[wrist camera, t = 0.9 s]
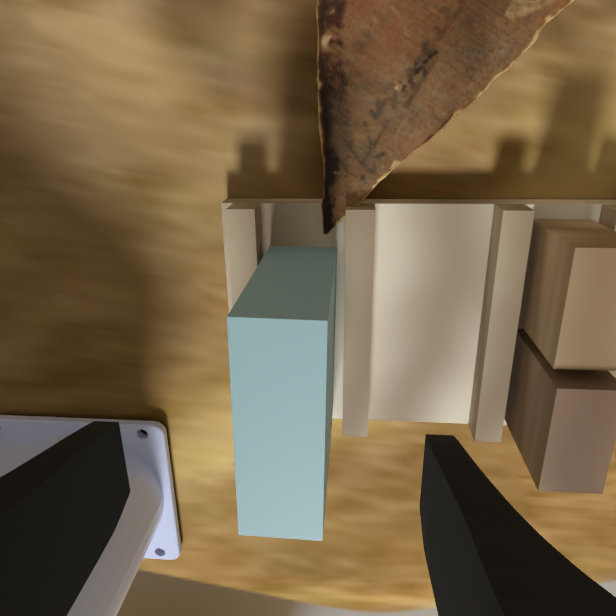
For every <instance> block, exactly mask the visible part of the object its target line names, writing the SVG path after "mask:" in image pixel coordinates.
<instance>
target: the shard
mask: <svg viewBox="0 0 616 616" xmlns="http://www.w3.org/2000/svg"><path fill="white" fill-rule="evenodd" d="M573 1H574V0H317V6H316V14H317V30H318V54H317V78H316V80H317V84H318V94H317V96H318V119H319V134H320V140H321V152H322V156H323V161H324V168H323V171H324V195H323V198H322V202H321V209H322V226H323V234H324V235H327V234H328V233H329V232H330V231H331V230H332V229H333V228H334V227H335V226H336V225H338V224H339V223H340V222H341V221H342V220H343V219H344V217H345V216H346V207H357V206H358V205H359V204H360V203H361V202H363V201H364V199H365V198H366V197H367V196H368V195H369V193H370V192H371V191H372V190H373V189H374V188H375V186H376V185H377V184H378V183H379V182H380V181H381V180H382V179H384V178H385V177H386V176H387V175H388V174H389V173H390V172H391V171H392V170H394V169H395V168H396V167H397V166H398V165H399V164H400V163H401V162H402V161H403V160H405V159H406V158H407V157H408V156H409V155H411V154H412V153H413V152H414V151H415V150H417V149H419V148H421V147H422V146H423V145H424V144H426V143H427V142H429V141H430V140H431V139H432V138H434V137H435V136H436V135H437V134H438V133H439V132H440V131H441V130H442V129H443V128H444V127H445V126H446V125H447V124H448V123H449V122H450V121H451V120H452V119H453V118H454V117H455V116H456V115H457V114H459V113H460V112H461V111H463V110H464V109H465V108H467V107H468V106H470V105H471V104H472V103H473V102H474V101H475V100H476V99H477V98H479V96H480V95H481V94H482V93H483V92H485V91H486V90H487V89H488V88H489V86H490V84H491V83H492V82H493V81H494V80H495V79H496V78H497V77H498V76H500V75H501V74H503V73H504V72H506V71H507V70H508V69H509V68H510V67H511V65H512V64H513V63H514V62H515V61H516V60H517V59H518V58H519V57H520V56H521V55H522V54H523V53H524V52H525V51H526V50H527V49H528V48H530V47H531V46H532V45H533V44H534V43H535V42H536V40H537V38H538V36H539V34H540V32H541V30H542V28H543V26H544V25H545V24H547V23H548V22H549V21H550V20H551V19H552V18H554V17H555V16H556V15H557V14H558V13H560V12H561V11H562V10H563V9H564V8H565V7H566V6H568V5H569V4H570V3H572V2H573Z"/></svg>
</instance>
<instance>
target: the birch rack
mask: <svg viewBox="0 0 616 616" xmlns="http://www.w3.org/2000/svg"><path fill="white" fill-rule="evenodd" d="M321 202H322V199H257V198H227V199H226V200H225V201H223V202H222V203H221V208H222V222H223V236H224V250H225V264H226V278H227V292H228V306H229V313H230V311H231V309H232V308H233V306H234V304H235V303H236V301H237V299H238V298H239V296H240V294H241V293H242V291H243V289H244V288H245V286H246V285H247V283H248V281H249V280H250V278H251V276H252V275H253V273H254V271H255V270H256V268H257V266H258V265H259V263H260V262H261V260H262V258H263V257H264V255H265V253H266V252H267V250H268V248H269V247H270V246H298V247H333V248H337V275H336V311H335V346H334V382H333V413H332V418H336V419H343V421H342V436H363V437H368V420H388V421H414V422H440V423H466V424H469V427H470V430H471V433H472V435H473V438H474V441H484V442H501V438H502V431H503V425H507V423H506V421H505V419H504V417H505V410H506V404H507V397H508V390H509V383H510V376H511V370H512V363H513V356H514V349H515V342H516V336H517V329H523V327H522V326H521V325H520V323H519V315H520V308H521V302H522V295H523V288H524V281H525V274H526V268H527V261H528V254H529V247H530V240H531V234H532V227H533V220H534V219H591V220H593V221H596V222H598V223H600V224H602V225H604V226H606V227H608V228H610V229H612V230H614V231H616V200H583V199H364V201H363V202H361V203H360V204H359V205H358V206H357V207H346V216H345V217H344V219H343V220H342V221H341V222H340V223H339V224H338V225H336V226H335V227H334V228H333V229H332V230H331V231H330V232H329V233H328V234H327V235H324V234H323V226H322V209H321ZM608 371H609V370H608ZM609 372H610V373H611V374H612V375H613V376H614V377H615V373H616V371H609Z"/></svg>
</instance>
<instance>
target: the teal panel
mask: <svg viewBox="0 0 616 616" xmlns="http://www.w3.org/2000/svg"><path fill="white" fill-rule="evenodd" d="M336 275H337V248H333V247H298V246H270V247H269V248H268V250H267V252H266V253H265V255H264V257H263V258H262V260H261V262H260V263H259V265H258V266H257V268H256V270H255V271H254V273H253V275H252V276H251V278H250V280H249V281H248V283H247V285H246V286H245V288H244V289H243V291H242V293H241V294H240V296H239V298H238V299H237V301H236V303H235V304H234V306H233V308H232V309H231V311H230V313H229V314H228V316H227V329H228V347H229V366H230V384H231V403H232V421H233V440H234V458H235V477H236V495H237V514H238V532H239V535H248V536H262V537H275V538H289V539H303V540H317V541H323V531H324V517H325V504H326V491H327V478H328V465H329V452H330V439H331V426H332V413H333V382H334V346H335V311H336Z"/></svg>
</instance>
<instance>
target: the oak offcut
mask: <svg viewBox="0 0 616 616" xmlns="http://www.w3.org/2000/svg"><path fill="white" fill-rule="evenodd" d="M519 323H520V325H521V326H522V327H523V329H524V330H525V331H526V333H527V334H528V335H529V337H530V338H531V339H532V341H533V342H534V343H535V345H536V346H537V347H538V349H539V350H540V351H541V353H542V354H543V355H544V357H545V358H546V359H547V361H548V362H549V363H550V365H551V366H552V368H553V369H575V370H609V371H616V231H614V230H612V229H610V228H608V227H606V226H604V225H602V224H600V223H598V222H596V221H593V220H591V219H534V220H533V227H532V234H531V240H530V247H529V254H528V261H527V268H526V274H525V281H524V288H523V295H522V302H521V308H520V315H519Z"/></svg>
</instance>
